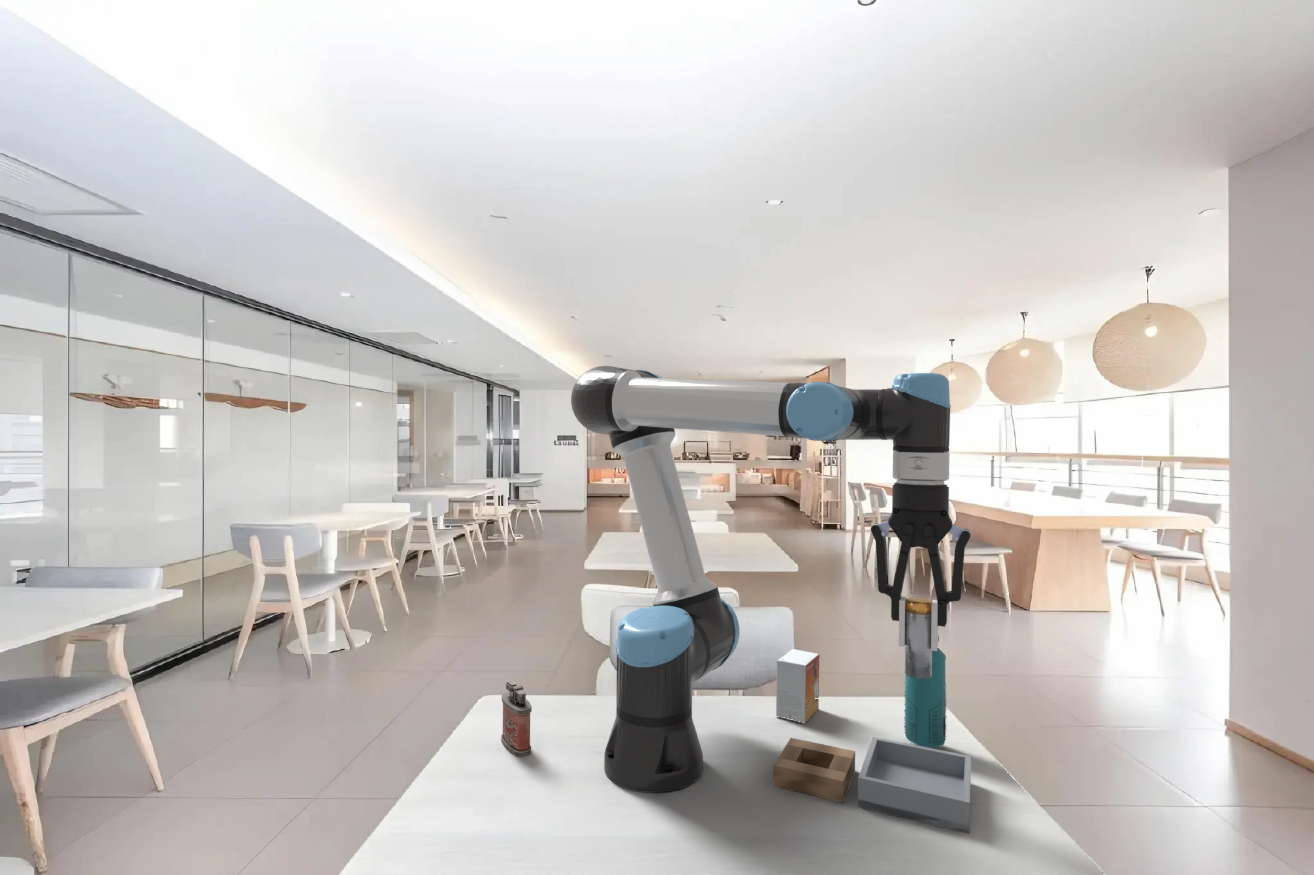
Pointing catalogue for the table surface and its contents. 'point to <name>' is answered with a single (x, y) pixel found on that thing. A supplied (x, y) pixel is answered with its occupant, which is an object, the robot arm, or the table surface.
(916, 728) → the beverage bottle
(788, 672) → the small box
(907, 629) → the pin
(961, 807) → the tray
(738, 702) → the table surface
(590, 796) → the table surface
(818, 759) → the block
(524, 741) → the lighter
